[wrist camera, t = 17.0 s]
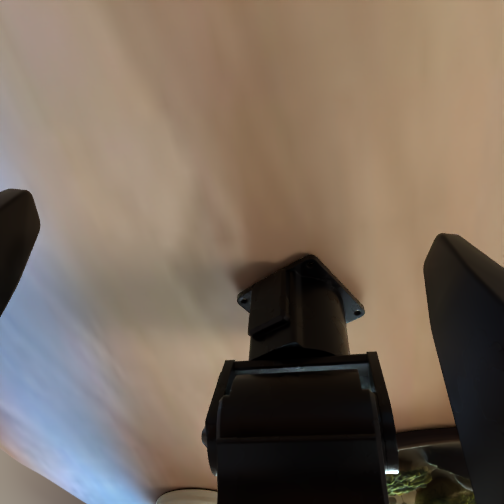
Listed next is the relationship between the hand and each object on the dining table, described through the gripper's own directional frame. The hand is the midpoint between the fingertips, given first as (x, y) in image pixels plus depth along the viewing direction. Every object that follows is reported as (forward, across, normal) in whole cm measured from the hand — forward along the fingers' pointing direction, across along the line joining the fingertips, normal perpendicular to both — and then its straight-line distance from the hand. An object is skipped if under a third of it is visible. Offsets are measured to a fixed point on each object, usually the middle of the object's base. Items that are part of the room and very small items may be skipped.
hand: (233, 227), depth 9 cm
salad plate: (+13, -22, +38) cm, 45 cm away
